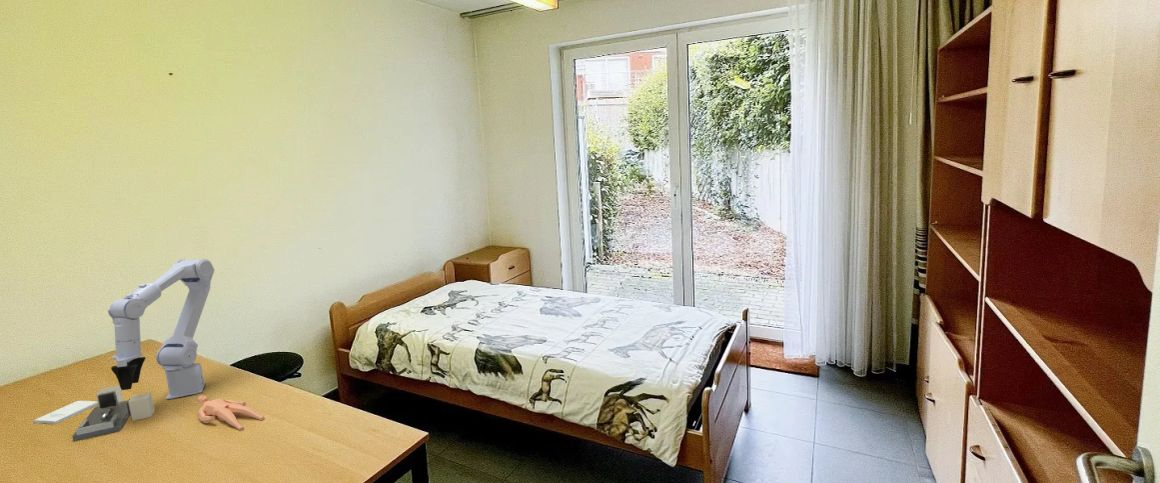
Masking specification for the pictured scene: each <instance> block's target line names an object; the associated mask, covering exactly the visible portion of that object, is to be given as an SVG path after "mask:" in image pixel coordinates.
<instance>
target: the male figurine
mask: <svg viewBox="0 0 1160 483" xmlns="http://www.w3.org/2000/svg"><path fill="white" fill-rule="evenodd" d="M196 400H197V402H199V403H201V404H202V406H201V407H200V409H199V410H198V412H197V416H198V419H199V421H200V423H202V424H209V423H212V422H213V421H214V420H216V417H217V418H218V419H219V420H220V421H221V422H226V423H227V424H228V425H230V426H232V427H234V428H235V429H237V430H238V431H243V430H244V429H245V428H244V426H242V424H241V423H239V421H238V420H237V419H238V418H237V417H238V416H246V417H250V418H253V419H257V420H259V421H263V420H265V419H266V418H265V416H264V415H261V414H260V413H258V412H257V411H256V410H255V409H254V408H252V407H251V406H247V402H246V401H236V400H232V399H221V398H218V399H217V398H215V399H212V400H209V398H208V397H207V396H206V395H204V394H201V395H199V396H198V397H197V399H196Z"/></svg>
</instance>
